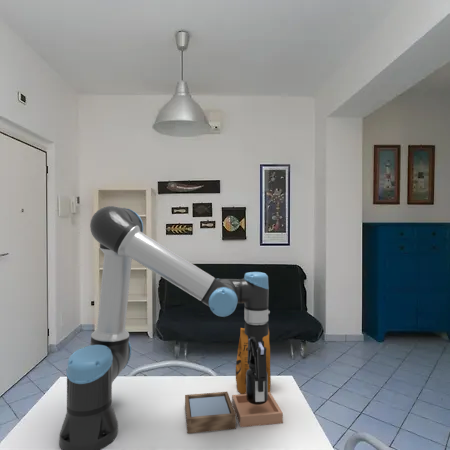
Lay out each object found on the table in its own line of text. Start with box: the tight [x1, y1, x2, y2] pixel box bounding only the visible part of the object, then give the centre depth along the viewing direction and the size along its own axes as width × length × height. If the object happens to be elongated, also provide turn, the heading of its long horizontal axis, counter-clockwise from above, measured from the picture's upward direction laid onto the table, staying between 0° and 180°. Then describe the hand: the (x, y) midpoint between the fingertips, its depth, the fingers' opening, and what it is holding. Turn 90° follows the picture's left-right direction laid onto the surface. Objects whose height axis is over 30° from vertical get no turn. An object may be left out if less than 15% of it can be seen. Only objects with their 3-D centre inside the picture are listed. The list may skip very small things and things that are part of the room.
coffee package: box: [235, 327, 272, 394], centre depth 122 cm, size 10×12×22 cm
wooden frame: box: [184, 391, 237, 434], centre depth 103 cm, size 14×14×4 cm
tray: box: [231, 391, 284, 428], centre depth 106 cm, size 13×13×3 cm
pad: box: [189, 396, 230, 417], centre depth 103 cm, size 11×11×1 cm
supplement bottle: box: [246, 359, 268, 405], centre depth 106 cm, size 7×7×12 cm
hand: (256, 394), depth 106 cm, fingers closed on supplement bottle, 7 cm apart
